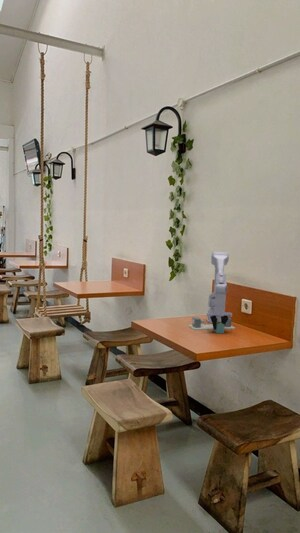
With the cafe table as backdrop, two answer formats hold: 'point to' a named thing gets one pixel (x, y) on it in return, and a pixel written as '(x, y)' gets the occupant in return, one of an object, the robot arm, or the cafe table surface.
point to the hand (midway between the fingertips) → (218, 329)
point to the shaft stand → (197, 324)
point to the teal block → (219, 327)
